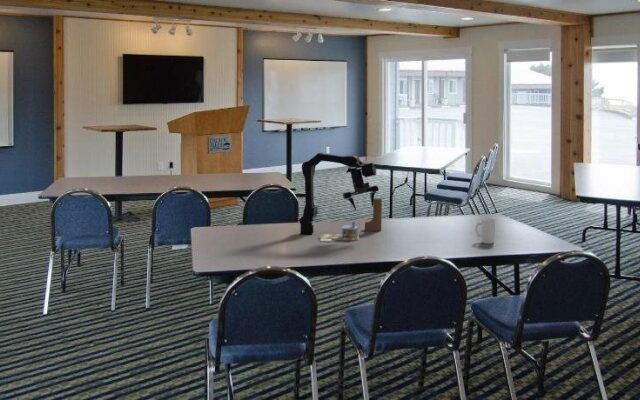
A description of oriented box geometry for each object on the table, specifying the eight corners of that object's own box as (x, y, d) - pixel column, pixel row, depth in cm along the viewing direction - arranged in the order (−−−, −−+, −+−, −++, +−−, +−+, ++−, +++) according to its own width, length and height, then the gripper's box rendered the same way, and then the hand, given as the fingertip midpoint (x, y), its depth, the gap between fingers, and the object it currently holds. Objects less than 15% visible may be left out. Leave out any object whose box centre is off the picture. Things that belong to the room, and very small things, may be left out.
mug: (493, 241, 378) (494, 218, 376) (495, 243, 372) (496, 220, 370) (473, 240, 379) (474, 218, 377) (475, 243, 372) (476, 220, 371)
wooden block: (364, 230, 404) (365, 198, 402) (365, 229, 409) (365, 197, 406) (380, 231, 403) (381, 199, 400) (381, 229, 408) (381, 198, 405)
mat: (320, 241, 375) (320, 240, 375) (320, 239, 380) (320, 238, 380) (330, 241, 374) (330, 240, 374) (331, 239, 380) (331, 238, 380)
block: (345, 238, 383) (345, 229, 382) (346, 237, 387) (346, 228, 386) (353, 239, 382) (353, 229, 382) (353, 237, 386) (353, 228, 386)
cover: (341, 237, 380) (341, 222, 379) (342, 234, 389) (342, 219, 388) (356, 237, 380) (357, 222, 379) (357, 234, 388) (357, 220, 387)
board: (318, 239, 381) (318, 237, 381) (320, 235, 391) (320, 234, 391) (358, 240, 379) (358, 238, 379) (359, 236, 389) (359, 234, 389)
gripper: (342, 183, 373) (349, 213, 374) (377, 175, 375) (383, 204, 376) (339, 183, 384) (346, 211, 385) (373, 175, 386) (380, 203, 387)
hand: (364, 207), depth 383 cm, fingers open, 9 cm apart
